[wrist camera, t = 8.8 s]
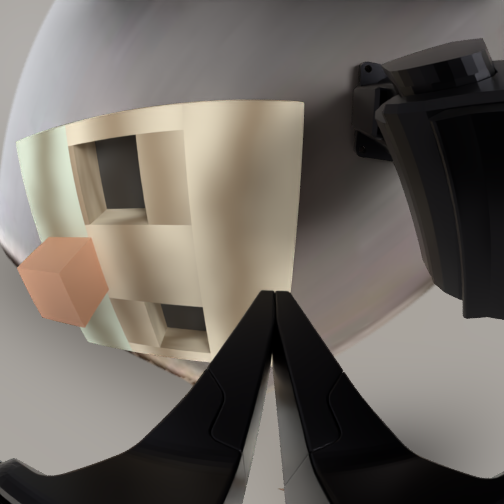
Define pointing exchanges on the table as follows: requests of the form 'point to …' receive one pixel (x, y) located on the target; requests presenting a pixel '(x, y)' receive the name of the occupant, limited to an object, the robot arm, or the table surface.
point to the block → (65, 279)
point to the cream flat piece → (174, 214)
